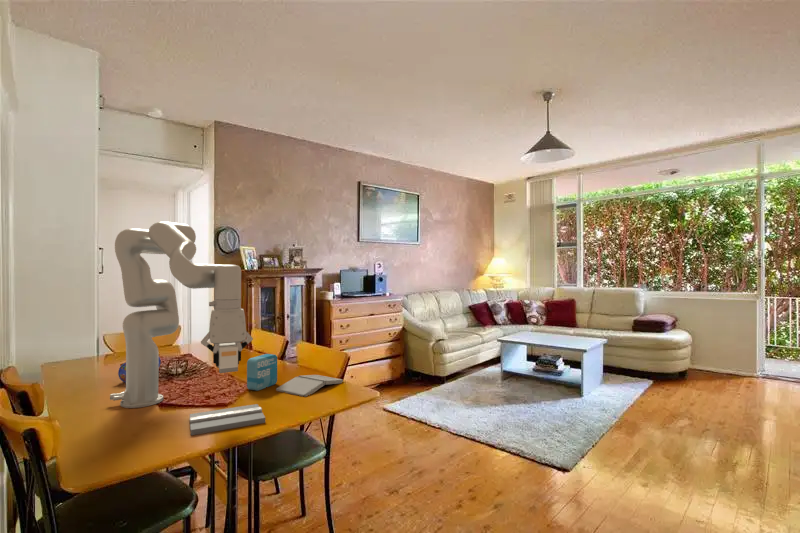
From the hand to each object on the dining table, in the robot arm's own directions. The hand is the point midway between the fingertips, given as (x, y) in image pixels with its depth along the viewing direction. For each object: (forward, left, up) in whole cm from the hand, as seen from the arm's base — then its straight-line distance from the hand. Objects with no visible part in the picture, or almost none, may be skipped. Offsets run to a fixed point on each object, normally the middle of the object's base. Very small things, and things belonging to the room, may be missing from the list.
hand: (227, 363), depth 124 cm
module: (0, 0, -2) cm, 2 cm away
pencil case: (-27, +72, -18) cm, 79 cm away
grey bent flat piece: (+33, +24, -18) cm, 45 cm away
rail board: (0, 0, -17) cm, 17 cm away
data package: (+16, +32, -18) cm, 40 cm away
